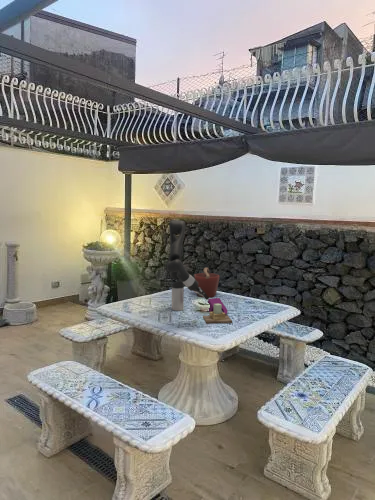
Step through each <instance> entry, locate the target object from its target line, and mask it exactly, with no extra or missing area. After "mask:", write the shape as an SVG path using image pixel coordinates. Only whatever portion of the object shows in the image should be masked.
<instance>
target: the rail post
mask: <svg viewBox="0 0 375 500" xmlns="http://www.w3.org/2000/svg"><path fill="white" fill-rule="evenodd" d="M221 309H222V305H221V304H219V303H218V304H214V314H221V312H222V310H221Z"/></svg>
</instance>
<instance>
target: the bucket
mask: <svg viewBox="0 0 375 500" xmlns="http://www.w3.org/2000/svg"><path fill="white" fill-rule="evenodd" d="M193 276H194V277H193V278H194V279H195V280H196V281H197V282H198V287H200V288H202V290H203V291H204V292H205V293H206V295H207V296H208V297H209V298H208V299H213V298H215V297H216V296H217V291H218V288H219V287H218V286H219V282H220V277H221V276H220V275H219V274H217V273H212V272H210V269H209V267H204V268H203V272H201V273H194V275H193ZM203 294H204V293H203ZM196 296H197V297H198V298H204V297H203V296H202V297H200V296H199V295H198V294H196ZM204 299H205V298H204Z"/></svg>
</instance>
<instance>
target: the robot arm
mask: <svg viewBox="0 0 375 500" xmlns="http://www.w3.org/2000/svg"><path fill="white" fill-rule="evenodd" d="M168 229H169V240H170V241H169V243H170V244H169V245H170V246H169V256H168V259H167V262H166V270H167V272H168V273H169V276H170V278H171V279H177V281H175V282H172V283H171V310H172V311H176V312H177V311H179V312H180V311H184V301H185V299H184V298H185V297H184V296H185V294H184V293H185V292H184V291H185V286H186V288H187V289H188V290H189V291H191V292H192V291H193V293H195V294H196V295H197V294H198V295H199V296H200V297H199V298H203V297H204V299H205V300H206V301H208V299H210V298H209V297H208V296H207V295H206V293H205V292H204V291H203V290H202V288H200V287H198V282H197V281H196V280H195V278H194V277H193V276H192V275H191V274H190V273H189V272H188V271H187V270H186V267H185V266H184V264H183V262H182V261H181V258H182V257H183V256H184V255H183V253H184V252H183V251H184V247H183V242H184V238H185V232H186V221H184V220H178V219H177V220H173V219H172V220H170V222H169V228H168ZM176 234H179V235H178V237H177V236H176ZM203 293H204V294H203ZM198 295H197V296H198ZM202 296H203V297H202Z"/></svg>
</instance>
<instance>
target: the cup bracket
mask: <svg viewBox="0 0 375 500" xmlns="http://www.w3.org/2000/svg"><path fill="white" fill-rule="evenodd" d="M202 318H203V320H204V322H205V325H207V324H208V325H210V324H215V325H216V324H217V325H218V324H233V320H232V319H231V317H230V316H229V315H228V314H227V315H225V313H223V312H222V311H221V314H214V311H213V312H209V315H202Z"/></svg>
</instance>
